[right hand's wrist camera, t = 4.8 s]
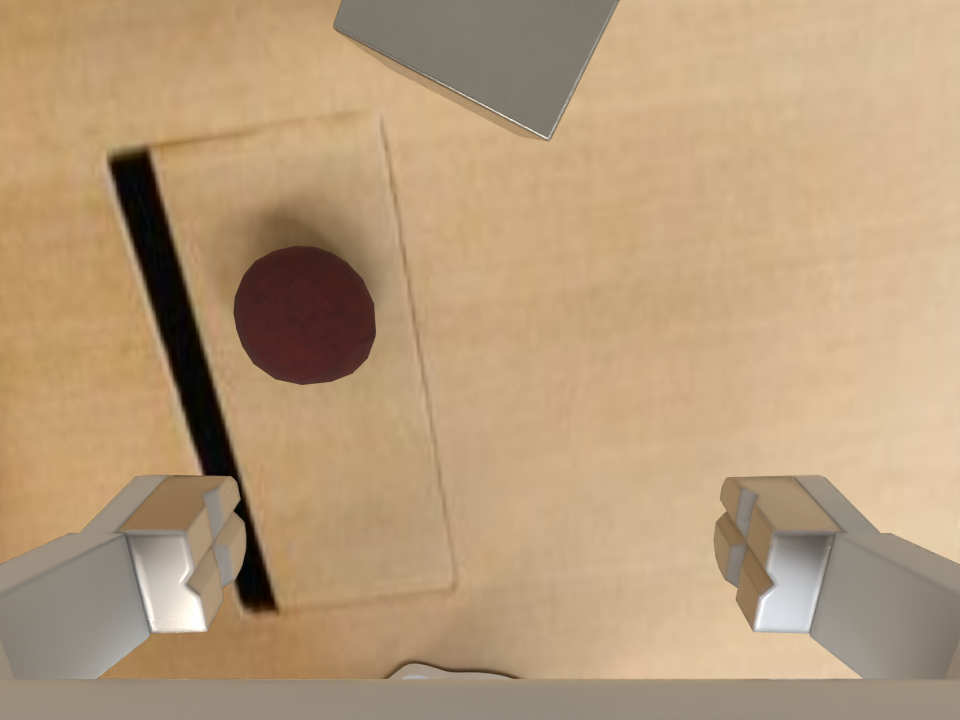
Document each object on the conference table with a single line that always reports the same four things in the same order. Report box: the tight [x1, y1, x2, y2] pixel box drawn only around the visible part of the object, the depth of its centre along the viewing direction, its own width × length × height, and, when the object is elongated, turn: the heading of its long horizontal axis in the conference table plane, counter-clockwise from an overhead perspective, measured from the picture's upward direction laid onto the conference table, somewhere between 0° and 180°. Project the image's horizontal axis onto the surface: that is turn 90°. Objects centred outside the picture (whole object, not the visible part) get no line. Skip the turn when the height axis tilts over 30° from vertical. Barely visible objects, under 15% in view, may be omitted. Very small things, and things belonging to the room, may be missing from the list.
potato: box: [234, 246, 376, 385], centre depth 33 cm, size 7×8×7 cm
